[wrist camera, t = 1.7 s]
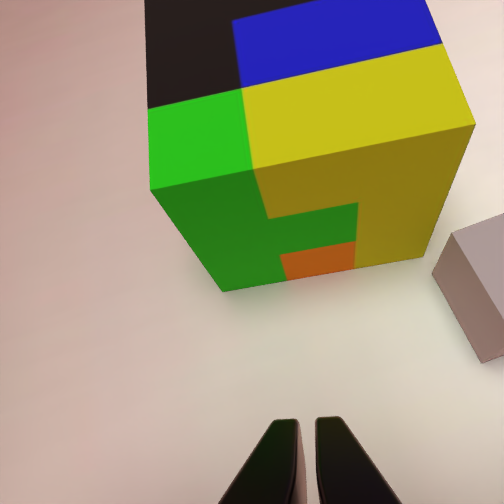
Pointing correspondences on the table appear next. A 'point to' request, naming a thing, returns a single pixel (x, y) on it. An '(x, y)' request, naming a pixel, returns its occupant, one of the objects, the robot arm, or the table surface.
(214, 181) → the puzzle toy
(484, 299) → the slate block
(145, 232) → the table surface
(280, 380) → the table surface
